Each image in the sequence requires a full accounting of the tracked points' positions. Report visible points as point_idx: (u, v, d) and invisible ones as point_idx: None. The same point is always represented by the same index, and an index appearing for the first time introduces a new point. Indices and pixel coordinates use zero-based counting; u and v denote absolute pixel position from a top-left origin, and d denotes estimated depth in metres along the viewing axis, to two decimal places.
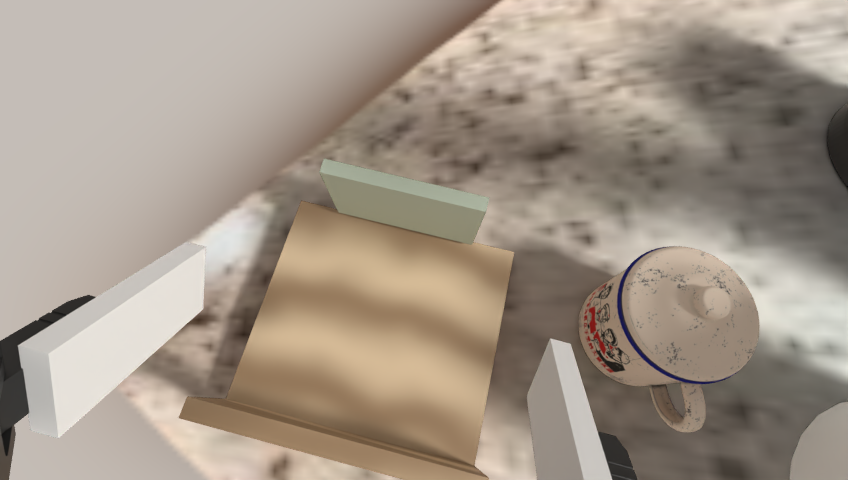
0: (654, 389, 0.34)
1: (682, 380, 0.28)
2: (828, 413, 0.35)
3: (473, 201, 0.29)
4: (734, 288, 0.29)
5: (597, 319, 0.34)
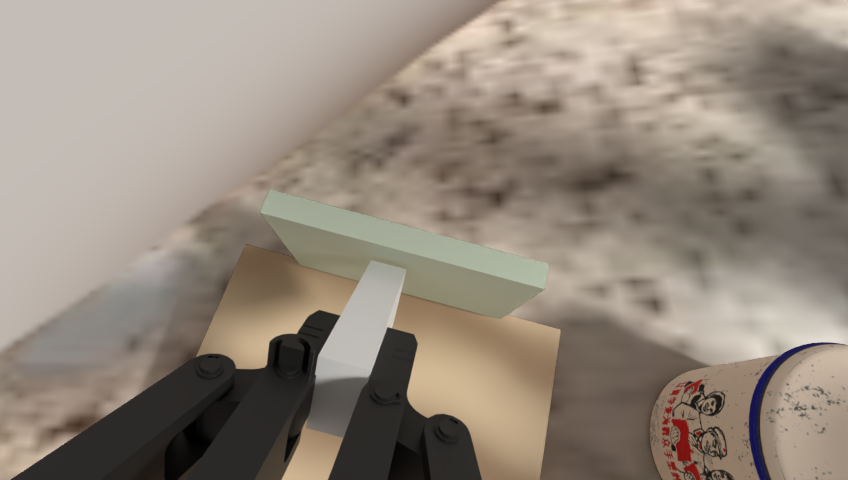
0: None
1: None
2: None
3: (523, 270, 0.17)
4: None
5: (695, 445, 0.22)
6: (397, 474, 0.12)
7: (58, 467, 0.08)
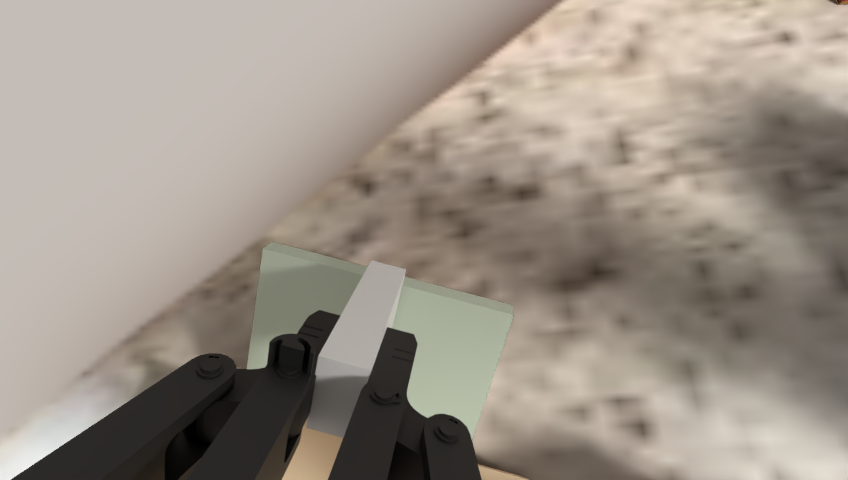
0: None
1: None
2: None
3: (492, 304, 0.20)
4: None
5: None
6: (397, 474, 0.12)
7: (58, 467, 0.08)
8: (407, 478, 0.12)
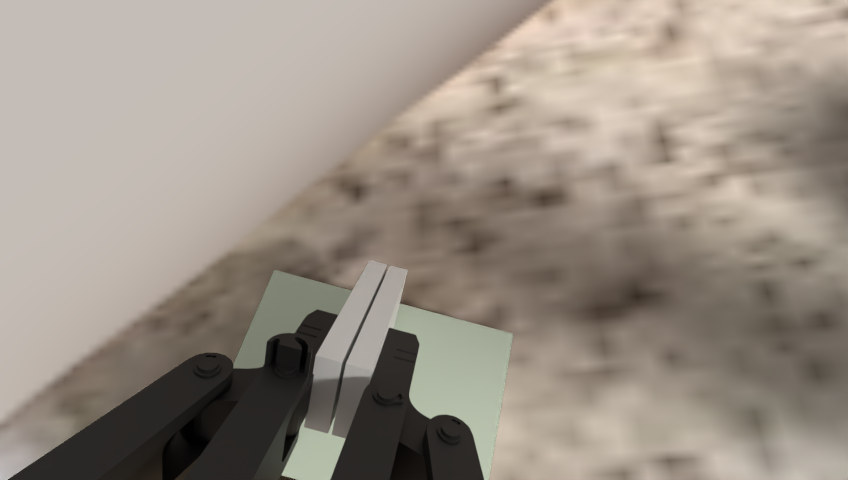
0: None
1: None
2: None
3: None
4: None
5: None
6: (400, 475, 0.12)
7: (56, 467, 0.08)
8: (410, 479, 0.12)
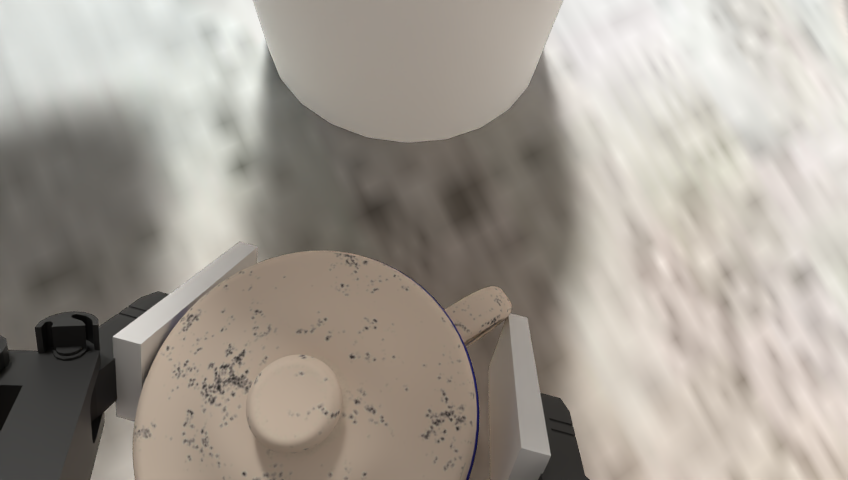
0: None
1: (471, 367, 0.13)
2: (325, 112, 0.25)
3: None
4: (217, 334, 0.12)
5: None
6: None
7: None
8: None
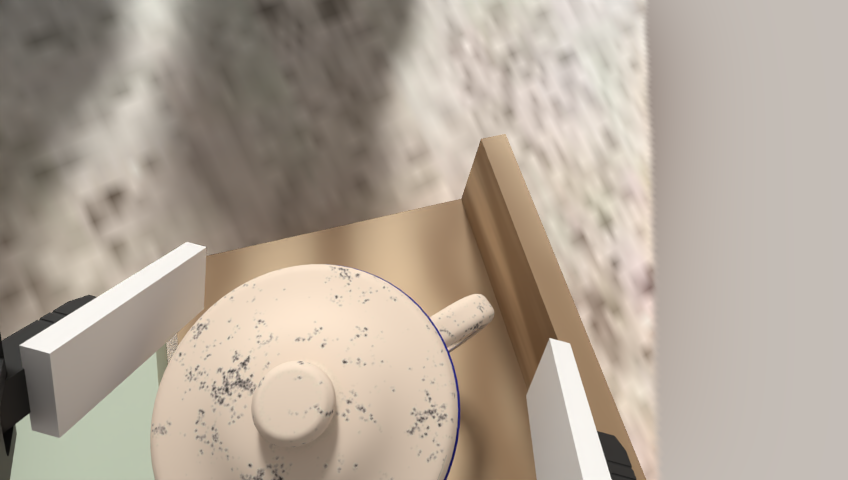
0: None
1: (453, 370, 0.14)
2: None
3: None
4: (225, 342, 0.13)
5: None
6: None
7: None
8: None
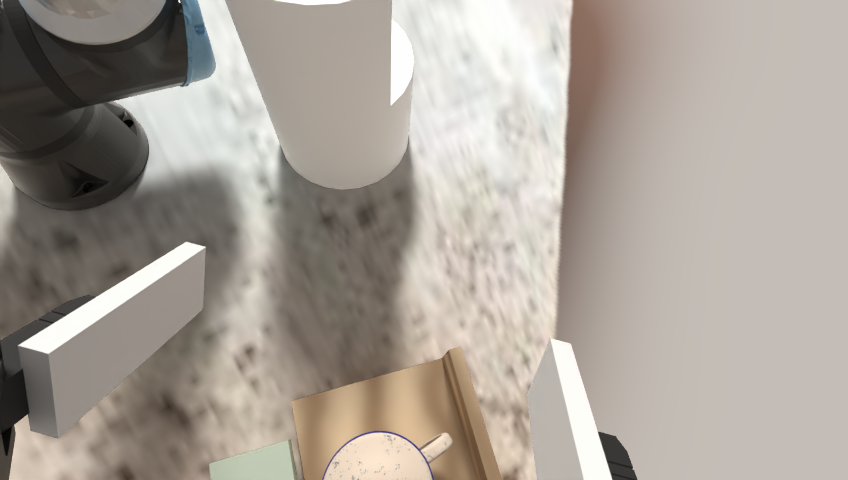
0: None
1: (432, 477, 0.37)
2: (306, 176, 0.58)
3: None
4: (347, 470, 0.35)
5: None
6: None
7: None
8: None
